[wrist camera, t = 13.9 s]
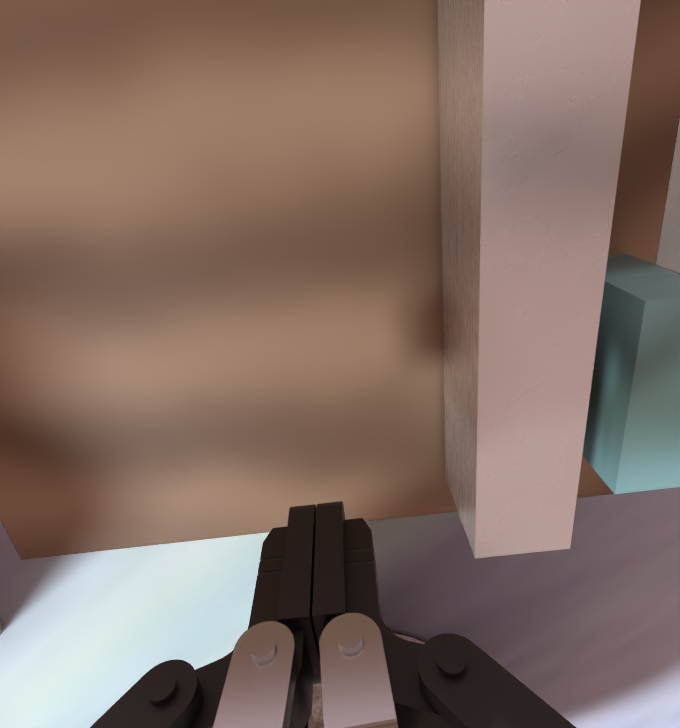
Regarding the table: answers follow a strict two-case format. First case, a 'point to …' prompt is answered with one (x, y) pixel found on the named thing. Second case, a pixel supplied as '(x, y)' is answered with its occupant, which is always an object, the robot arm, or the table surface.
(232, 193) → the lock board
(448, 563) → the table surface
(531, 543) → the bar
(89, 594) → the table surface
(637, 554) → the table surface
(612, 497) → the table surface
